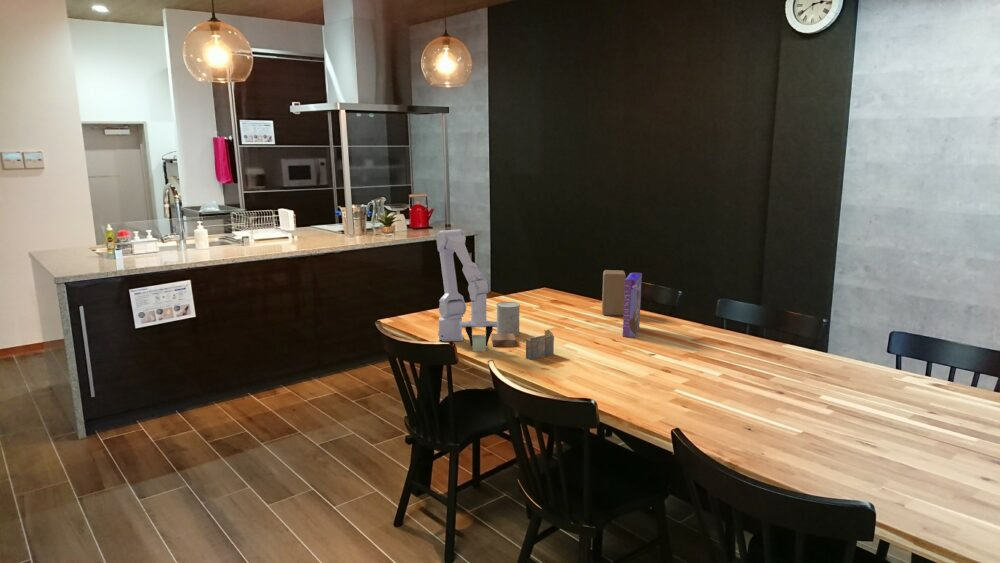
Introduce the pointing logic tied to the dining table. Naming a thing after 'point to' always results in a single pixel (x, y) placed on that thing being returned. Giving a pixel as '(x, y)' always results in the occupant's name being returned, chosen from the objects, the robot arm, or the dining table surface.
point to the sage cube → (479, 342)
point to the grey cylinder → (508, 318)
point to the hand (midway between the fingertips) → (479, 345)
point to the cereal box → (632, 304)
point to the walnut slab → (504, 339)
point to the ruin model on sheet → (540, 346)
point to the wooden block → (613, 292)
